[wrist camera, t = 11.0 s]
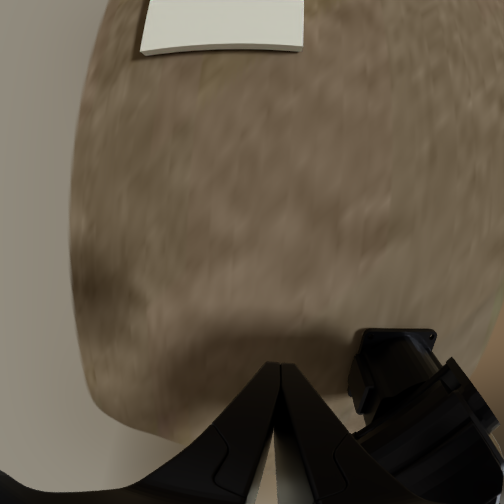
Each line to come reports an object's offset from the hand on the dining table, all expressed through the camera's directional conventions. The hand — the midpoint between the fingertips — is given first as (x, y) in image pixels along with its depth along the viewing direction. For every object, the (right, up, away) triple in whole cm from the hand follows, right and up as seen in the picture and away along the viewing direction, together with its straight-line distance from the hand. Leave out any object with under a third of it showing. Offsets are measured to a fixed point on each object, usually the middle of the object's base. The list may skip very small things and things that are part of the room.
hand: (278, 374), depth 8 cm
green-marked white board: (-2, +25, +6) cm, 26 cm away
